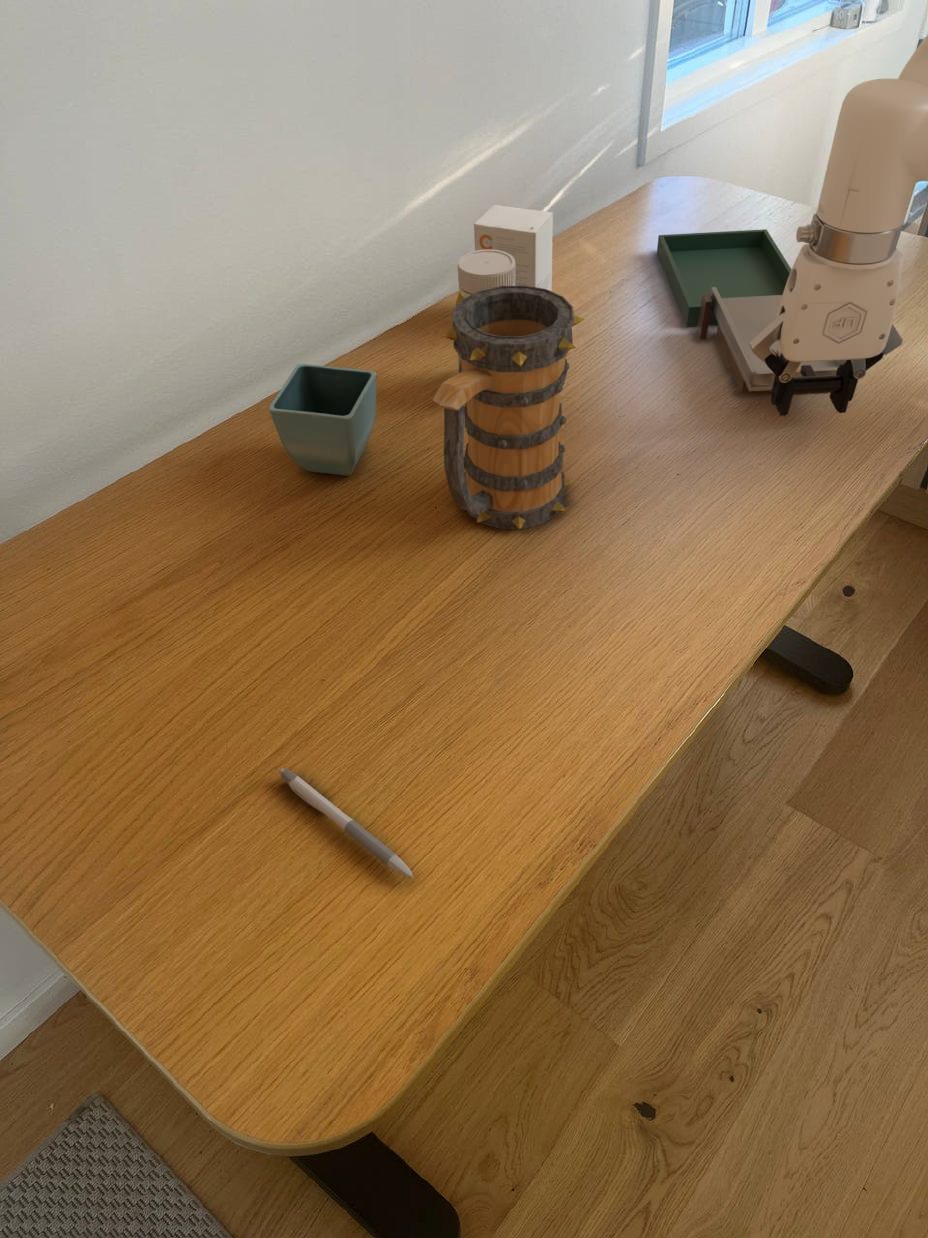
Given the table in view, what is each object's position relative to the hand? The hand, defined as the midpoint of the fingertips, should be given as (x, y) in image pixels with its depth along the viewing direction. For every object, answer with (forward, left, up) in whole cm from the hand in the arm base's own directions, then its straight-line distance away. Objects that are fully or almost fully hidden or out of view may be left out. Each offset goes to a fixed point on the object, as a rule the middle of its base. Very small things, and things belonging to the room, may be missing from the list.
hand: (808, 405), depth 96 cm
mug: (+13, +32, -4) cm, 35 cm away
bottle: (+31, +18, -4) cm, 36 cm away
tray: (+27, -21, -3) cm, 35 cm away
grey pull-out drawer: (+9, -7, 0) cm, 11 cm away
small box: (+41, +5, -4) cm, 41 cm away
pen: (-7, +65, -4) cm, 66 cm away
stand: (+12, -10, -3) cm, 16 cm away
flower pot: (+31, +40, -4) cm, 51 cm away
